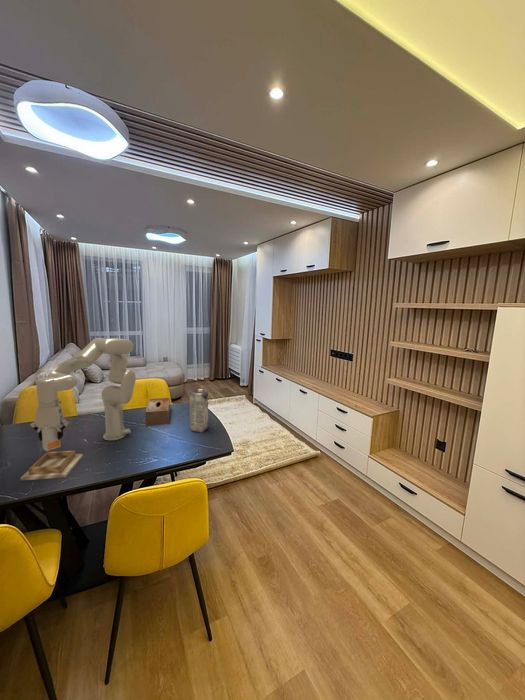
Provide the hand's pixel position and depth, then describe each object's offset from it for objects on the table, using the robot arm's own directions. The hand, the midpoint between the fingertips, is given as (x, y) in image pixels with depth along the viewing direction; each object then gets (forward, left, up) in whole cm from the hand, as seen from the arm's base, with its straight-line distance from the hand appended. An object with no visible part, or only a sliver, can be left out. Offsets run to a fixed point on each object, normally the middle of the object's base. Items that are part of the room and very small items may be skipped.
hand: (51, 438), depth 132 cm
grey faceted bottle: (-68, -34, -15) cm, 78 cm away
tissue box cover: (-39, -57, -16) cm, 71 cm away
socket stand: (0, 0, -15) cm, 15 cm away
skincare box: (0, 0, -5) cm, 5 cm away
